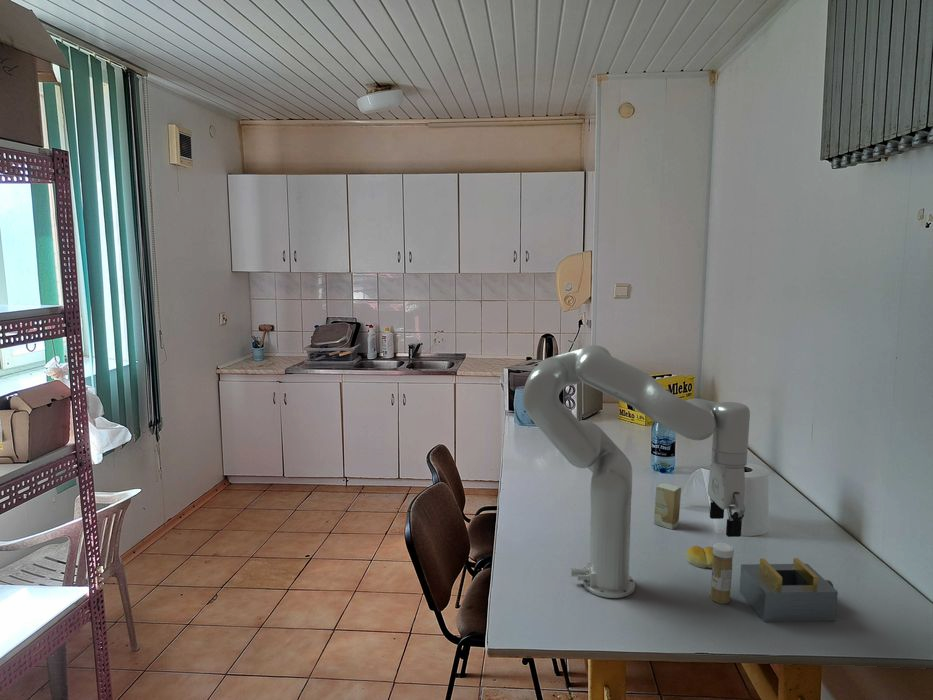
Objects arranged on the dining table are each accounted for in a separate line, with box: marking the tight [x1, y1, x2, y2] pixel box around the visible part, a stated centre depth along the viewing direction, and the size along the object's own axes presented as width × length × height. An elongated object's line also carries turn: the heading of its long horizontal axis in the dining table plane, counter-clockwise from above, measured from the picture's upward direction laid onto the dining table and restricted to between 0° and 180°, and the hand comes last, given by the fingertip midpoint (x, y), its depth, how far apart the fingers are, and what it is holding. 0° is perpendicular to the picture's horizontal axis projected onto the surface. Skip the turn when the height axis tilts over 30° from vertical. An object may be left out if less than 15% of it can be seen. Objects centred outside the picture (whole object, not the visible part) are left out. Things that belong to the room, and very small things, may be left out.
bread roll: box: [685, 545, 713, 569], centre depth 174 cm, size 8×9×4 cm
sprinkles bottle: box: [710, 542, 734, 604], centre depth 155 cm, size 5×5×14 cm
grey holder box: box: [739, 557, 839, 623], centre depth 152 cm, size 18×13×10 cm
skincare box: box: [653, 482, 682, 530], centre depth 196 cm, size 6×4×12 cm
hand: (724, 526), depth 153 cm, fingers open, 9 cm apart
